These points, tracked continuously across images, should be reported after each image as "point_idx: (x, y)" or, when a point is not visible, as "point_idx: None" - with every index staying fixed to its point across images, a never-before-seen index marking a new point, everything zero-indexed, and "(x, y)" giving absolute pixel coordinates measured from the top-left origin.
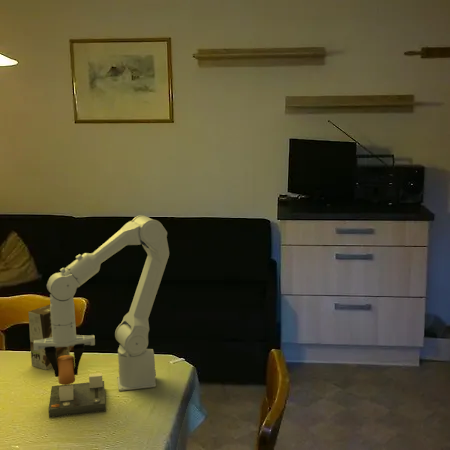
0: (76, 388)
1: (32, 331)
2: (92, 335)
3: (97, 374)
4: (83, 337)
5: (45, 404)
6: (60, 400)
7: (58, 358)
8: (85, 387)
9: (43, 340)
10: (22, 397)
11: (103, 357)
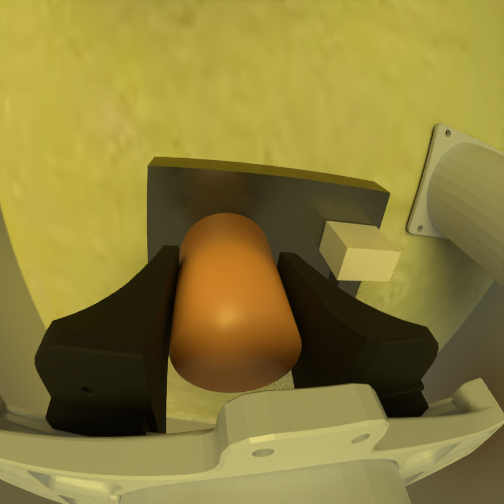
0: (264, 228)
1: None
2: (497, 426)
3: (378, 263)
4: (432, 466)
5: (133, 248)
6: None
7: (179, 347)
8: (304, 230)
9: (10, 452)
10: (41, 162)
11: None
